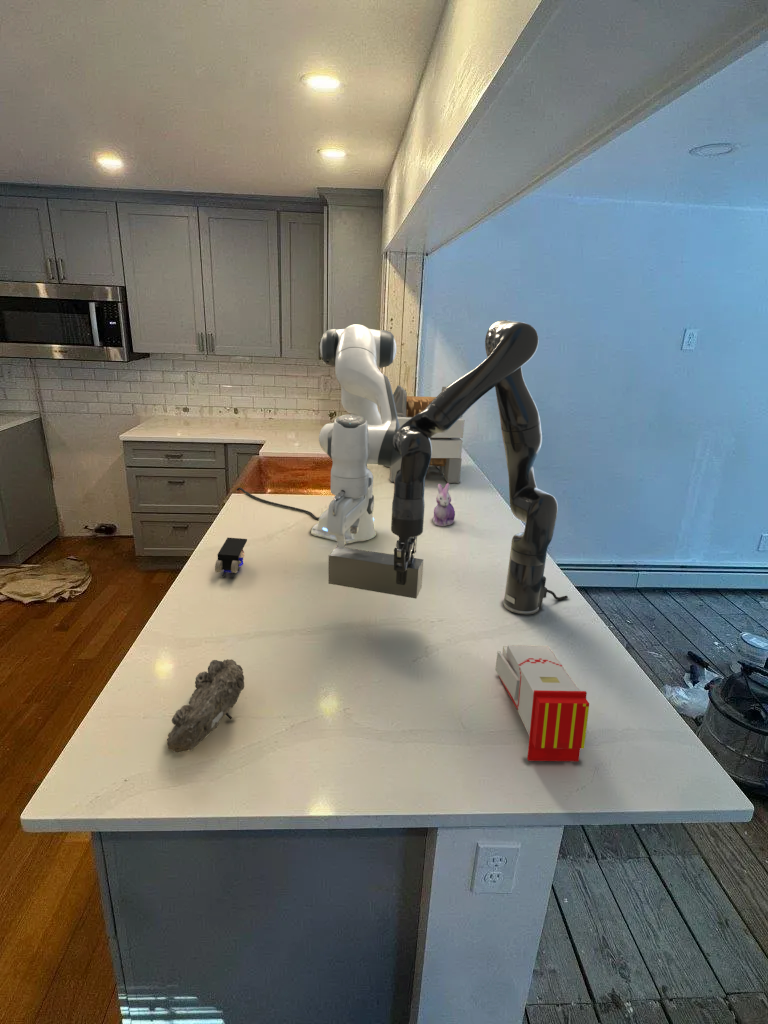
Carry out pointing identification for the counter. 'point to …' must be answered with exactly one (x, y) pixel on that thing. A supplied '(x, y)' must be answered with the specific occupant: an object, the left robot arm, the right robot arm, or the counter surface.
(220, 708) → the fossil
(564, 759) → the toy
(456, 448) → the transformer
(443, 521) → the figurine
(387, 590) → the bar
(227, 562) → the figurine character
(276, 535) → the counter surface
